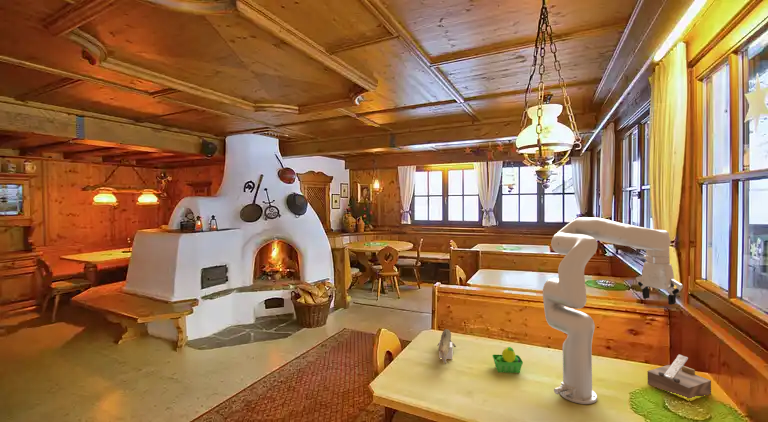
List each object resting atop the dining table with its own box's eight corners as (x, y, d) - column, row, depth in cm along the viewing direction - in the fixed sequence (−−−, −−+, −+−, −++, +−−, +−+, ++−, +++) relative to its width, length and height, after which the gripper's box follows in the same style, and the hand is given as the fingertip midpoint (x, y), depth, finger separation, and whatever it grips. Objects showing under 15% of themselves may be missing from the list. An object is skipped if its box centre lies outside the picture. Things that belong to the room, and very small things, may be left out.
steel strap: (673, 380, 132) (672, 378, 132) (664, 376, 135) (663, 375, 134) (688, 358, 135) (687, 357, 135) (679, 355, 138) (678, 354, 138)
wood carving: (433, 376, 150) (432, 349, 150) (438, 343, 184) (438, 322, 184) (455, 377, 148) (454, 351, 148) (456, 344, 183) (455, 322, 182)
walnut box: (689, 402, 127) (689, 383, 126) (647, 383, 140) (647, 366, 139) (711, 393, 131) (711, 375, 131) (668, 376, 144) (668, 360, 144)
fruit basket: (518, 366, 157) (518, 340, 157) (524, 376, 148) (524, 349, 148) (492, 365, 158) (491, 340, 158) (496, 375, 150) (495, 348, 149)
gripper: (630, 258, 153) (631, 297, 154) (676, 264, 137) (676, 308, 138) (641, 256, 156) (642, 295, 157) (687, 262, 140) (688, 305, 141)
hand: (658, 301), depth 147 cm, fingers open, 9 cm apart
